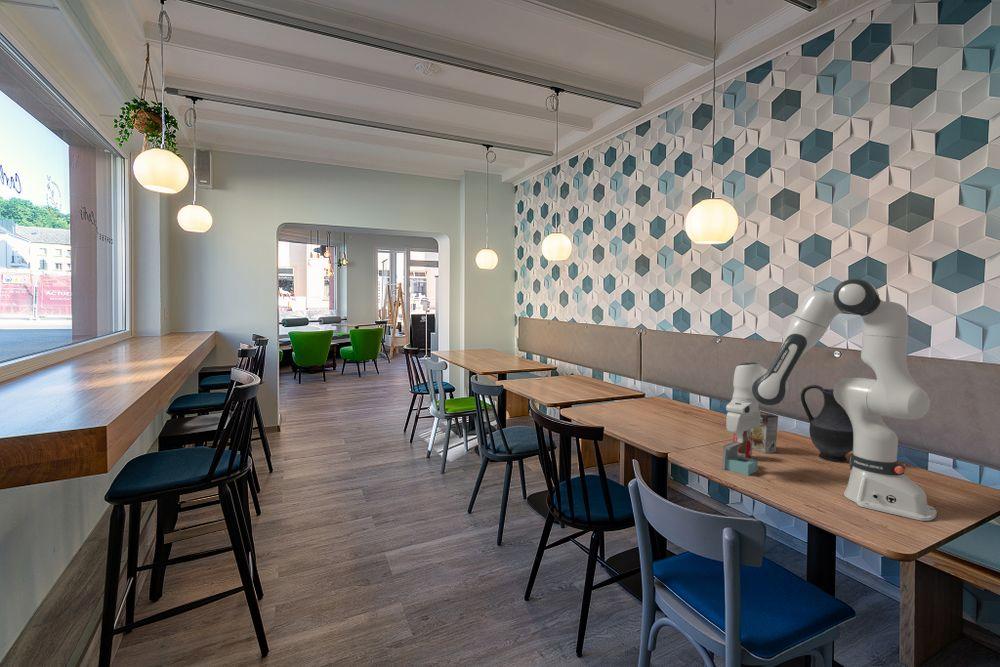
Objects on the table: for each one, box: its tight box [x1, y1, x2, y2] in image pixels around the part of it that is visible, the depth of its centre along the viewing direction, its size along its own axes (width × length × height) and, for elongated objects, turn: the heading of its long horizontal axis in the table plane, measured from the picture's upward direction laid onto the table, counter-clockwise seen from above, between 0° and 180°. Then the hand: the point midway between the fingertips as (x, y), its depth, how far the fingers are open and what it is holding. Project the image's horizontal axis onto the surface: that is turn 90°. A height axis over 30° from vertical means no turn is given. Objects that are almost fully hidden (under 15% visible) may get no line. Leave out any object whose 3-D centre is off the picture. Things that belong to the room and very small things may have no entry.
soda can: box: [732, 432, 753, 459], centre depth 192 cm, size 7×7×12 cm
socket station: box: [721, 441, 759, 476], centre depth 177 cm, size 9×10×9 cm
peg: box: [738, 431, 747, 454], centre depth 176 cm, size 3×3×10 cm
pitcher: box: [800, 384, 853, 463], centre depth 193 cm, size 17×21×30 cm
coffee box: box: [751, 410, 779, 454], centre depth 203 cm, size 9×6×16 cm
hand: (743, 441), depth 176 cm, fingers closed on peg, 3 cm apart
